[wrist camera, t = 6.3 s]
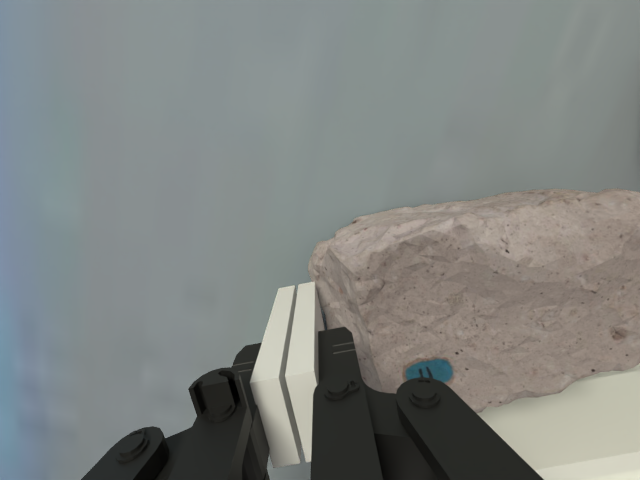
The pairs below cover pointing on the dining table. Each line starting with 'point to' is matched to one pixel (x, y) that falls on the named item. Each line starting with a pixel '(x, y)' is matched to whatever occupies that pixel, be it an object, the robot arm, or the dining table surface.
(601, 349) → the stone
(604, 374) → the tray
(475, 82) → the dining table surface
